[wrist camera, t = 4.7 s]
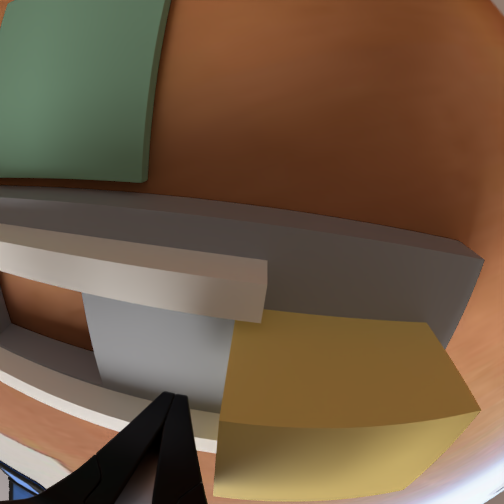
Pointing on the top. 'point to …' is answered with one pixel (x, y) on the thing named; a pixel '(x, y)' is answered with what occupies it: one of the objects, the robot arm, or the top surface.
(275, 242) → the channel deck
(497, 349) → the top surface
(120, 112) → the felt mat
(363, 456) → the brick
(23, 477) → the handheld game console
